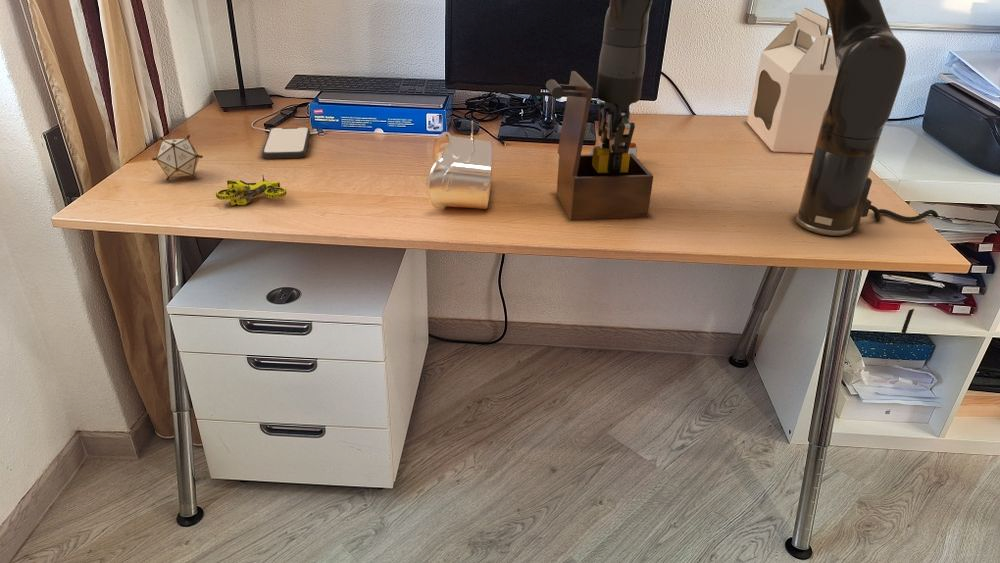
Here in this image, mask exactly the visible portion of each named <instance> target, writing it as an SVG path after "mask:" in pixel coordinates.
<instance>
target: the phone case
mask: <svg viewBox="0 0 1000 563" xmlns="http://www.w3.org/2000/svg"><path fill="white" fill-rule="evenodd" d="M310 137H311V129H310V128H309V127H306V126H304V127H303V126H300V127H299V126H298V127H272V128H271V129H269V131H268V134H267V136H266V140H265V143H264V145H263V149H262V150H261V155H262V158H263V159H265V160H276V159H277V160H278V159H279V160H280V159H282V160H283V159H302V158H304V157H306V155H307V150H308V145H309V141H310Z"/></svg>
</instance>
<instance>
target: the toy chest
mask: <svg viewBox="0 0 1000 563" xmlns="http://www.w3.org/2000/svg"><path fill="white" fill-rule="evenodd" d="M589 154H590V153H589ZM589 154H581V157H580V162H579V167H578V172H577V176H572V174H571V173H570V171H569V170H568V168H567V166H566V165H565V163H564V162H563V160H562V159H561V157H560V156H559V155H558V166H557V182H556V197H557V198H558V200H559V201H560V203H561V205H562V207H563V209H564V210H565V212H566V214H567V216H568V217H569V219H570V221H582V220H584V221H585V220H608V219H635V218H648V217H649V211H650V203H651V196H652V189H653V183H654V175H653V174H652V172H650V171H649V169H648V168H647V167H646V166H645V165H644V164H643V163H642V162H641V161H640V159H638V157H637V156H636V157H635V156H634V154H633V153H630V154H629V155H630V160H629V168H628V172H621V173H597V171H596V170H595V169H594V167H593V166H592V158H593V154H590V155H589Z"/></svg>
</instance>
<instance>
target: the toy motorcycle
mask: <svg viewBox="0 0 1000 563" xmlns="http://www.w3.org/2000/svg"><path fill="white" fill-rule="evenodd" d="M226 186H227V188H223V189H220V190H218V191H216V192H215V197H216V199H218V200H222V201H224V200H225V201H229V200H230V205H231V206H246V205H247V204H249V203H251V202H252V198H256V197H258V196H260V195H261V194H264V196H265V197H266V198H268V199H279V198H283V197H286V196H287V193H288V192H287V189H286V188H285V187H281V182H280V181H268V180H265V176H264V174H262V180H261V181H260V182H245V181H243V180H235V179H234V180H233V179H231V180H230V179H228V180H226ZM237 197H239V198H237ZM247 198H248V199H247Z"/></svg>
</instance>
